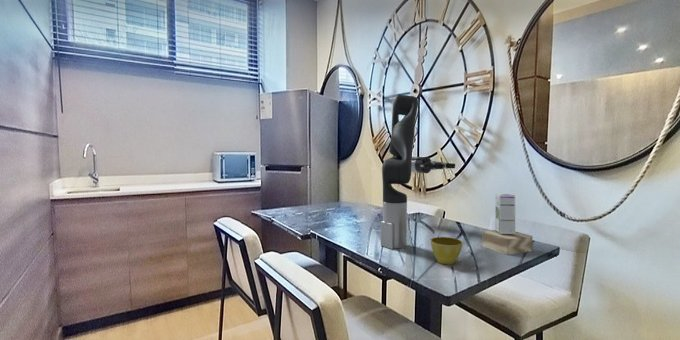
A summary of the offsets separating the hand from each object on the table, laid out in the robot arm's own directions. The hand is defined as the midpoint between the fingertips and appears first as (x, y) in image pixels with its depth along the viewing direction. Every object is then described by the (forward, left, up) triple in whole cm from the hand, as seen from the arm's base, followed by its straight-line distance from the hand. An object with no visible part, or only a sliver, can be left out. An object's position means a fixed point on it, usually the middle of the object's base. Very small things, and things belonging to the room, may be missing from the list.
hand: (448, 166), depth 152 cm
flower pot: (-33, -22, -30) cm, 50 cm away
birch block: (-2, -27, -30) cm, 40 cm away
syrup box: (-2, -26, -24) cm, 36 cm away
